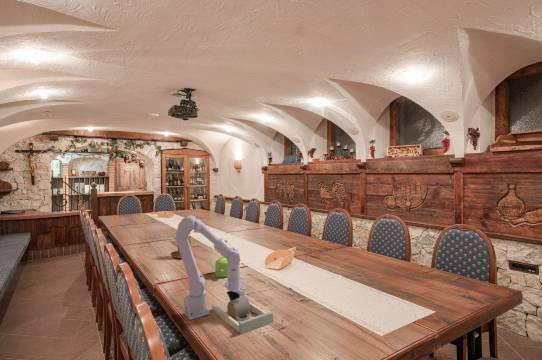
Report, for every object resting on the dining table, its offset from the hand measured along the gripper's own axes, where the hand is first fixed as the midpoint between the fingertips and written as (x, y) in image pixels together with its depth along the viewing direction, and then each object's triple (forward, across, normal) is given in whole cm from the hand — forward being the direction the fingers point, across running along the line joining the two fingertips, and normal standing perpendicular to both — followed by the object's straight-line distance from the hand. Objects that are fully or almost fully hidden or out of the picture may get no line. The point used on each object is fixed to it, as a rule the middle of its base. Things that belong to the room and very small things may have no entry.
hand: (234, 307), depth 141 cm
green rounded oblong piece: (+2, +47, -20) cm, 51 cm away
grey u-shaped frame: (+2, -5, 0) cm, 5 cm away
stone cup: (+2, +105, -13) cm, 106 cm away
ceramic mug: (+2, -6, +1) cm, 7 cm away
